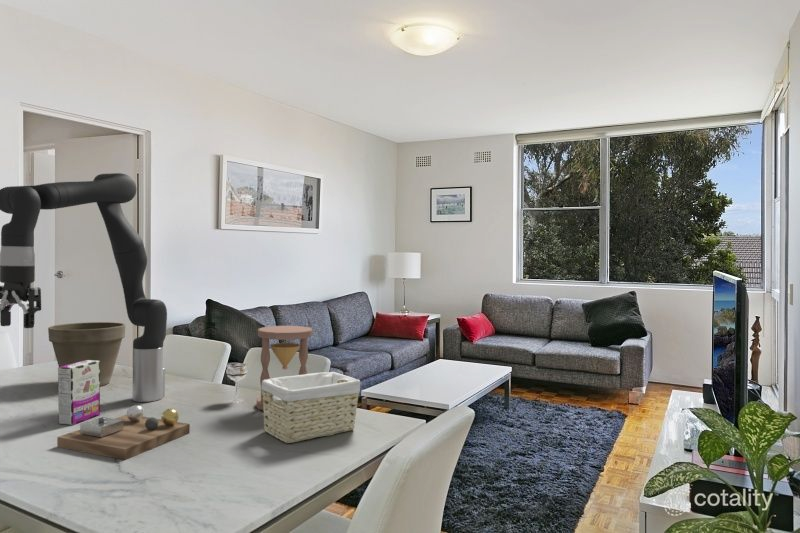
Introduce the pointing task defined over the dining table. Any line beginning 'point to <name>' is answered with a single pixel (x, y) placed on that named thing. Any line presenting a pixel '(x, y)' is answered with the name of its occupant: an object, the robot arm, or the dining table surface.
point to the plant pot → (88, 344)
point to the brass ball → (170, 417)
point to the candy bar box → (79, 391)
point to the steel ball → (135, 413)
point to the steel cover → (101, 427)
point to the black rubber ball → (151, 423)
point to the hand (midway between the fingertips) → (17, 326)
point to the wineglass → (236, 376)
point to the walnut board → (124, 439)
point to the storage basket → (309, 405)
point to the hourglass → (283, 349)
